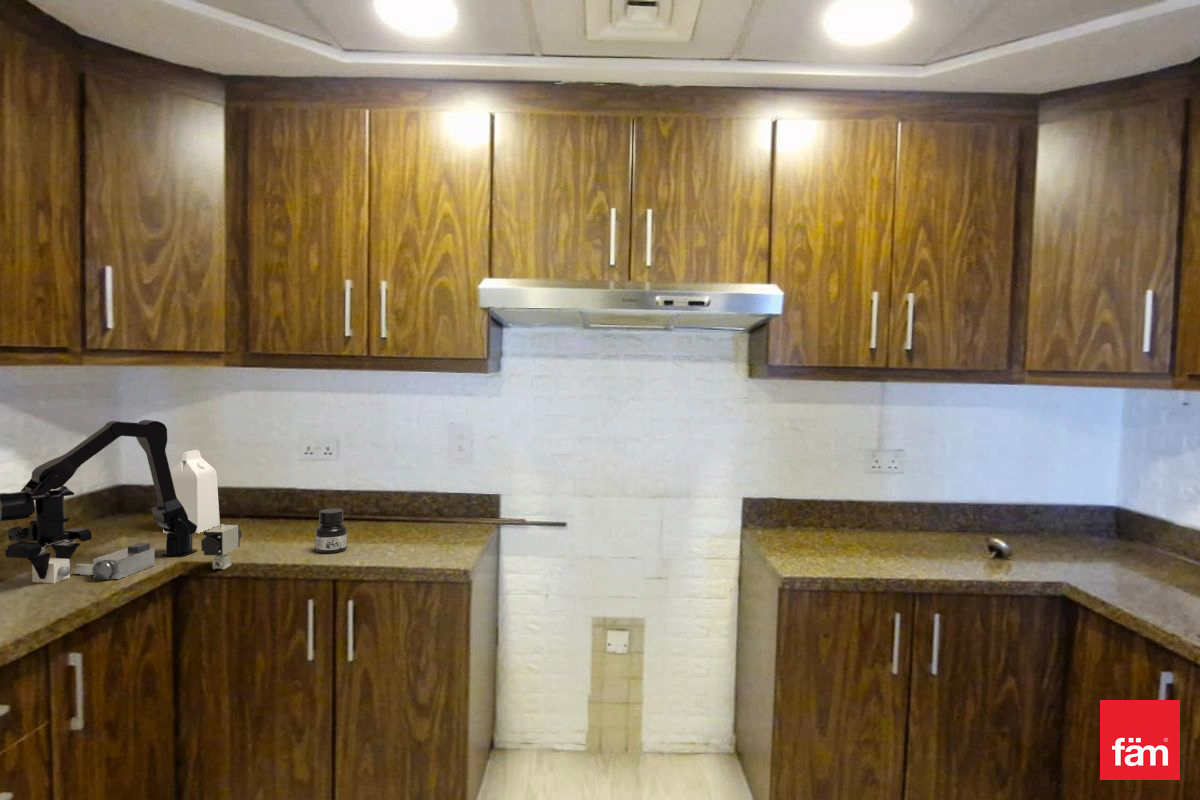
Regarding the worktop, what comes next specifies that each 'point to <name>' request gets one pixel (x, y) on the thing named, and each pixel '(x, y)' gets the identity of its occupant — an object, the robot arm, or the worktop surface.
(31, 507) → the robot arm
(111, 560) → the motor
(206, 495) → the milk
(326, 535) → the ink bottle
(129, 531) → the worktop surface
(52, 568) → the white block
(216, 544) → the pneumatic valve
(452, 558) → the worktop surface
